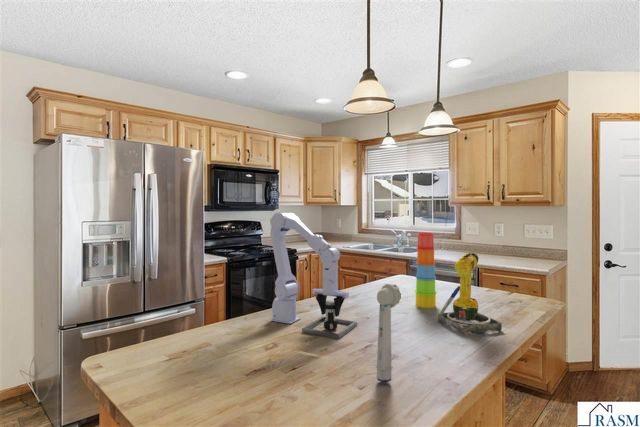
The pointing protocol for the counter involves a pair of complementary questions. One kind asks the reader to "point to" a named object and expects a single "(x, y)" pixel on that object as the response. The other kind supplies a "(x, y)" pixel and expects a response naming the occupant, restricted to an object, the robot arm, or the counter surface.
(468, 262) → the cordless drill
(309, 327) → the frame
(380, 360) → the toothbrush head
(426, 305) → the stacking cups
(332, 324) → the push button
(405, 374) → the counter surface
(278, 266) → the robot arm
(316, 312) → the counter surface
